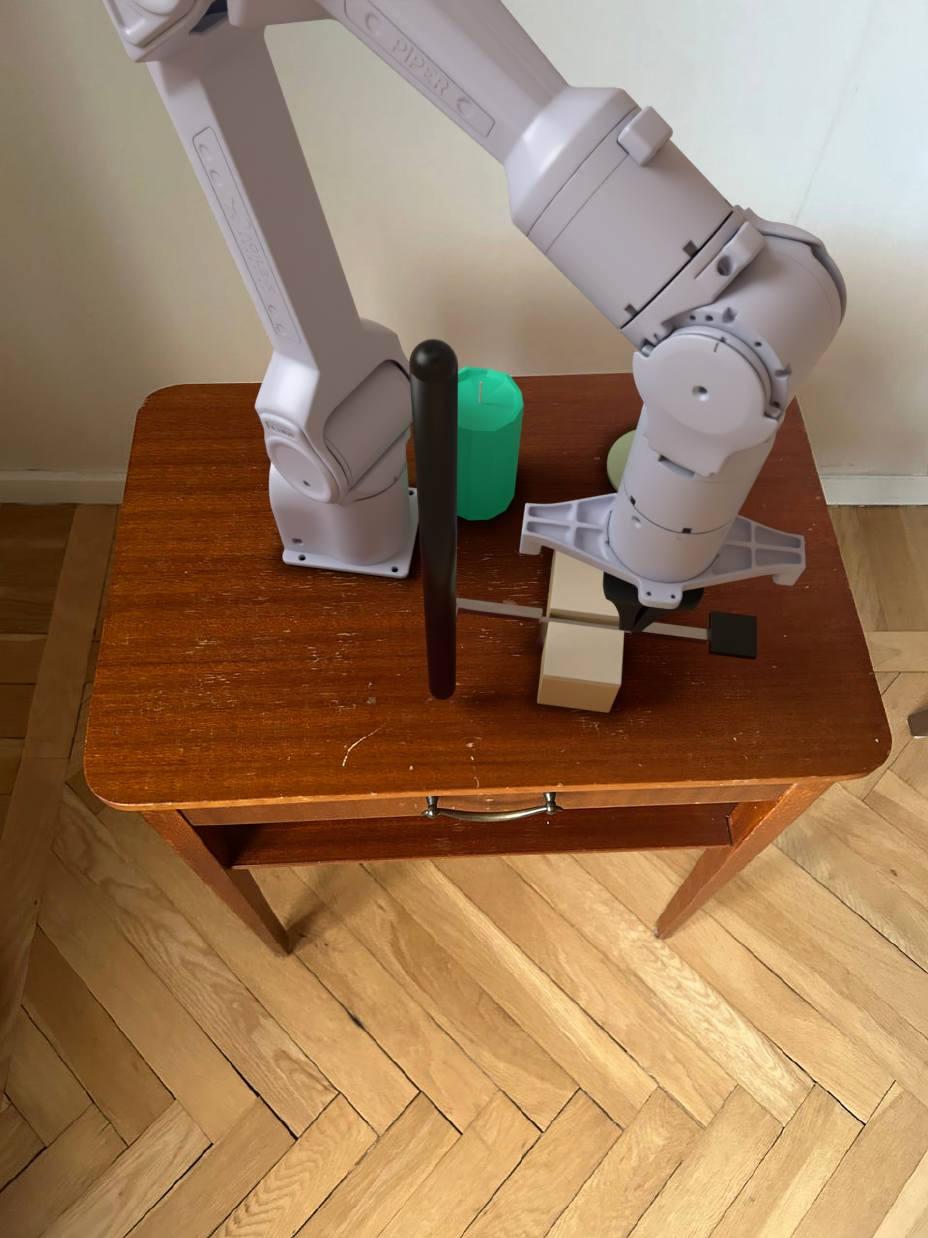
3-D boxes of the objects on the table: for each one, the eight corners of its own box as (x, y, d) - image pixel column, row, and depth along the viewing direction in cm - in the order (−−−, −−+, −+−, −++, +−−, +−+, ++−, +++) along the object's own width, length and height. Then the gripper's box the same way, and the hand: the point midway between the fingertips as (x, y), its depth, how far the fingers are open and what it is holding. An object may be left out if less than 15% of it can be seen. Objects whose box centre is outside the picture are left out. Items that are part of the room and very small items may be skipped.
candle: (507, 526, 67) (517, 423, 57) (431, 513, 68) (427, 408, 57) (520, 465, 70) (532, 356, 59) (447, 453, 71) (446, 342, 60)
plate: (603, 504, 68) (604, 501, 68) (609, 425, 72) (610, 421, 72) (706, 516, 68) (707, 513, 68) (707, 436, 72) (708, 433, 71)
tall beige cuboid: (543, 640, 63) (550, 607, 58) (552, 558, 66) (559, 521, 62) (613, 649, 63) (625, 617, 58) (618, 566, 66) (630, 529, 61)
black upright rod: (427, 708, 60) (404, 362, 31) (443, 614, 64) (435, 222, 34) (734, 749, 59) (1008, 430, 30) (733, 651, 62) (979, 278, 33)
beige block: (536, 703, 61) (543, 674, 56) (542, 653, 62) (549, 620, 58) (608, 713, 60) (621, 684, 56) (612, 662, 62) (624, 630, 58)
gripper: (522, 536, 40) (505, 661, 52) (845, 574, 39) (751, 692, 51) (536, 416, 43) (517, 560, 55) (835, 449, 42) (749, 588, 54)
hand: (630, 617), depth 53 cm, fingers closed
